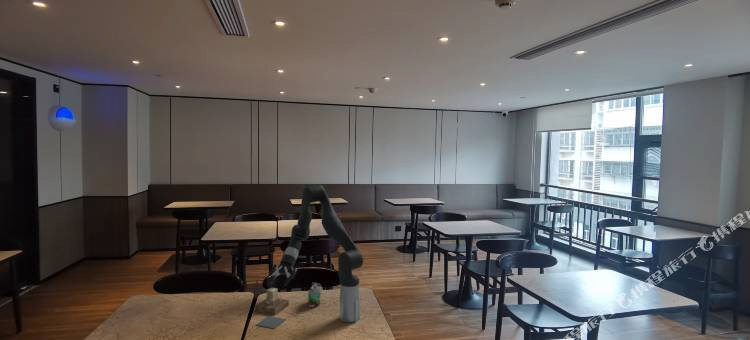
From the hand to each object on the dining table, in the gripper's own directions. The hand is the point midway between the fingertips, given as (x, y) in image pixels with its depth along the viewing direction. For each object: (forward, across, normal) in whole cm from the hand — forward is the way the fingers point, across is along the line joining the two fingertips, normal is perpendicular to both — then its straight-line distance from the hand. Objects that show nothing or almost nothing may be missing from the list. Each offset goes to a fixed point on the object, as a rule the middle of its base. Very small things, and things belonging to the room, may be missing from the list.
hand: (278, 284), depth 201 cm
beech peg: (+12, 0, +4) cm, 12 cm away
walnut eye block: (+12, 0, +4) cm, 12 cm away
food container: (+3, +19, +12) cm, 23 cm away
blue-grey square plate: (+21, +9, -6) cm, 24 cm away
